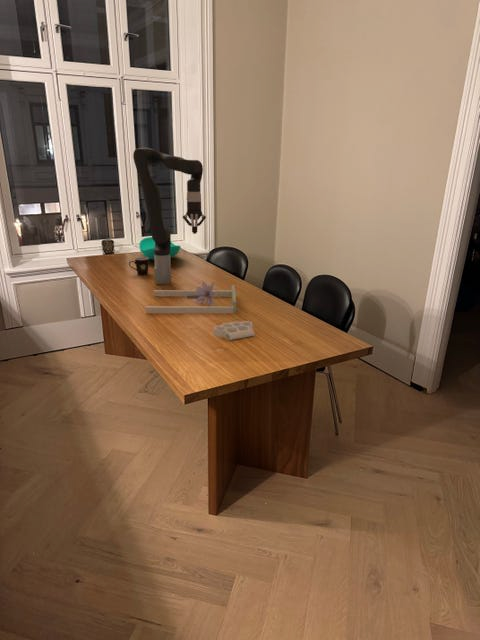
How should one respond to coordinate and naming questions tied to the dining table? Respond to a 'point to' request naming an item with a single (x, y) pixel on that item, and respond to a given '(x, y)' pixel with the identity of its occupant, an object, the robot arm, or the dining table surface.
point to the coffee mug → (141, 265)
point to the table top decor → (149, 245)
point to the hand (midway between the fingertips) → (194, 233)
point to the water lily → (205, 293)
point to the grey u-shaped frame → (193, 308)
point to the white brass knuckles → (234, 330)
